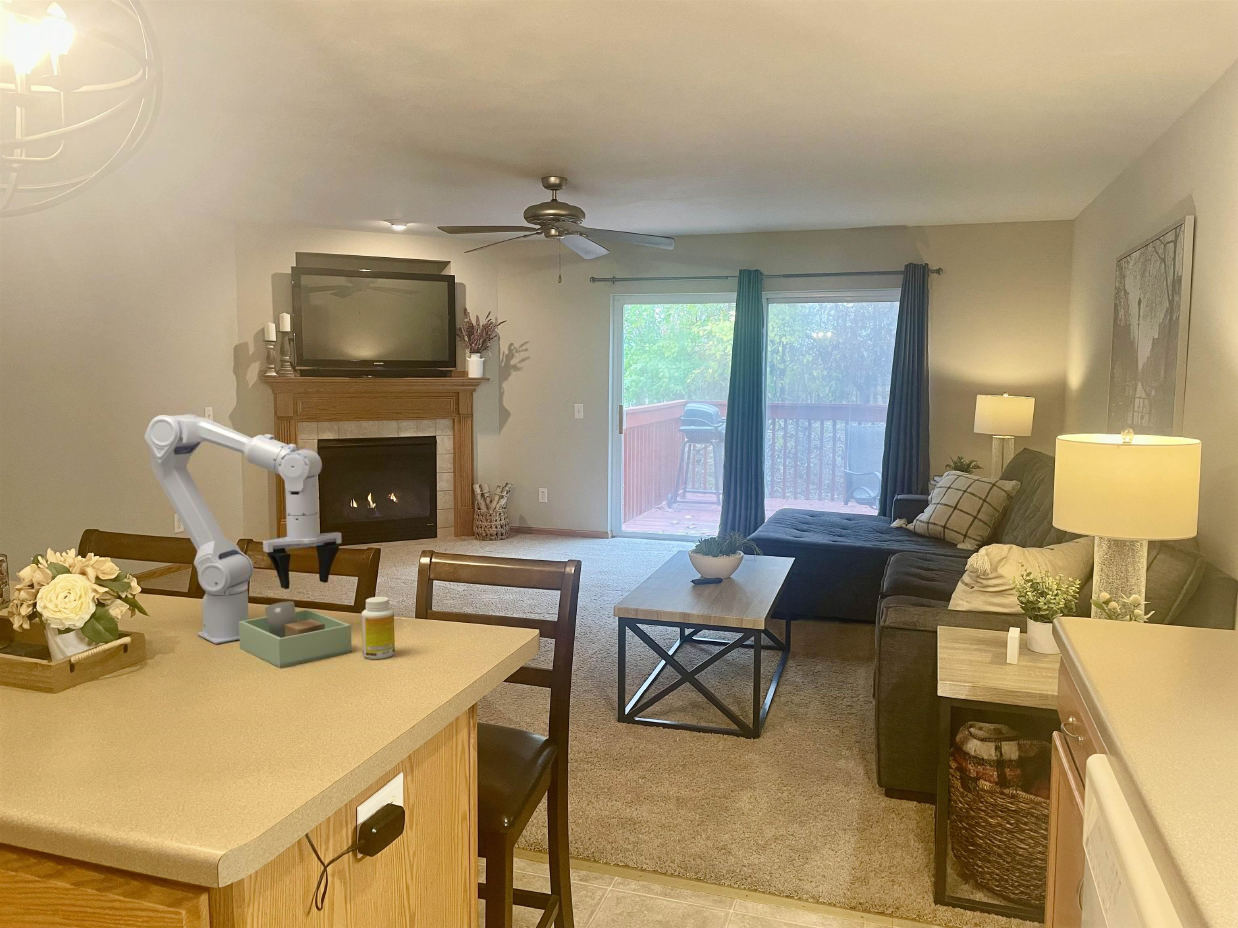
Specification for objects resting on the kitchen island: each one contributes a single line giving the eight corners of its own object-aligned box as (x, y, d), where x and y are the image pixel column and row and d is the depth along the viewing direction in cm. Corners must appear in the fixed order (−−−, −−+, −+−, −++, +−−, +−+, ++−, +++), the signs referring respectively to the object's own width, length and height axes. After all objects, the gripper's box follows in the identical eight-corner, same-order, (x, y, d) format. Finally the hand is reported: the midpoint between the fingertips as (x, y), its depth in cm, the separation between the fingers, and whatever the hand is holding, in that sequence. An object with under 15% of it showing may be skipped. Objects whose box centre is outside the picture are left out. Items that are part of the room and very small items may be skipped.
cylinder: (267, 643, 165) (260, 607, 164) (293, 635, 168) (287, 599, 167) (278, 648, 161) (271, 611, 160) (304, 639, 164) (298, 603, 163)
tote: (240, 648, 164) (238, 621, 164) (308, 634, 173) (307, 608, 173) (280, 668, 152) (278, 639, 151) (351, 652, 161) (350, 624, 160)
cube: (299, 657, 156) (298, 629, 155) (285, 651, 159) (284, 624, 159) (325, 651, 159) (324, 623, 159) (312, 646, 163) (311, 619, 162)
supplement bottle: (400, 656, 158) (398, 599, 158) (370, 662, 155) (368, 604, 154) (386, 649, 163) (385, 594, 162) (357, 655, 159) (355, 598, 158)
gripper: (273, 519, 160) (276, 594, 161) (348, 512, 170) (350, 582, 171) (257, 516, 165) (260, 588, 166) (330, 508, 175) (333, 576, 177)
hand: (304, 584), depth 169 cm, fingers open, 7 cm apart
